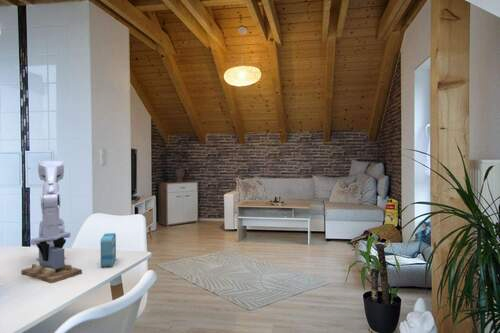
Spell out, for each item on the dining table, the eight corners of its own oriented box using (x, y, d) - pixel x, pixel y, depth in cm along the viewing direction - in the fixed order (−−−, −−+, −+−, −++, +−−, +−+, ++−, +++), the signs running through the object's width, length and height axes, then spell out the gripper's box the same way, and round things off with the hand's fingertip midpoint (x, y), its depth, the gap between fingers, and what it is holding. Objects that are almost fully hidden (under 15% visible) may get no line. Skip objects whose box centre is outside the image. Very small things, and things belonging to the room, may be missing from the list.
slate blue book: (39, 265, 135) (39, 247, 135) (49, 262, 139) (49, 245, 139) (54, 269, 130) (54, 251, 130) (64, 266, 134) (64, 248, 134)
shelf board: (21, 273, 134) (21, 264, 134) (51, 265, 145) (51, 257, 145) (51, 283, 125) (51, 273, 125) (81, 273, 135) (81, 264, 135)
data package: (112, 267, 143) (112, 238, 143) (100, 268, 142) (100, 239, 142) (115, 258, 155) (115, 232, 154) (105, 259, 153) (104, 232, 153)
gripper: (37, 229, 126) (38, 265, 126) (74, 222, 139) (75, 256, 139) (27, 227, 129) (27, 262, 130) (64, 220, 142) (64, 253, 142)
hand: (51, 259), depth 135 cm, fingers closed on slate blue book, 4 cm apart
